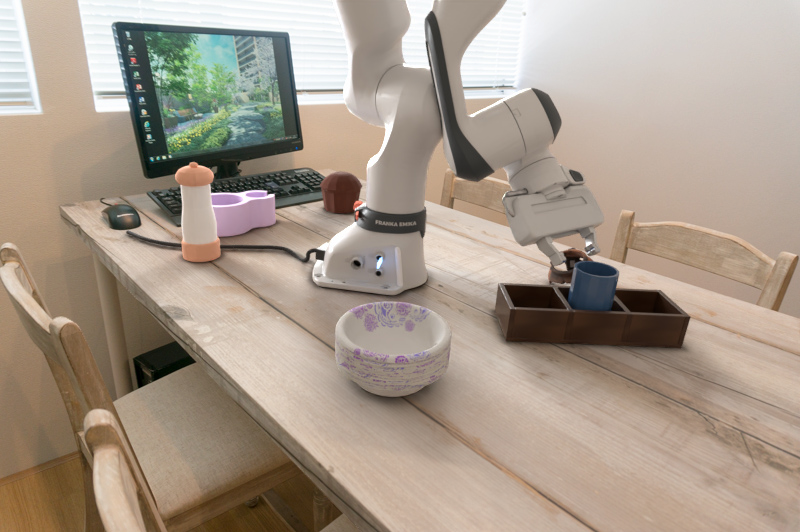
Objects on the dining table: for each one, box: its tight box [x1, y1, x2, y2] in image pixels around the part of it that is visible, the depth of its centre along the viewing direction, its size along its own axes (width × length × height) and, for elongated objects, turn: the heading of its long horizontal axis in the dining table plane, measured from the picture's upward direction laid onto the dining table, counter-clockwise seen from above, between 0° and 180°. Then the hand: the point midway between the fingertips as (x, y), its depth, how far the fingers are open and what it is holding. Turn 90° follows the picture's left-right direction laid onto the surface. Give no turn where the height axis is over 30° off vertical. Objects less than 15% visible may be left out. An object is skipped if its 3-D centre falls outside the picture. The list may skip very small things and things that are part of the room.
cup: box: [567, 260, 620, 311], centre depth 86 cm, size 7×7×10 cm
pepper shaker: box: [174, 161, 221, 263], centre depth 105 cm, size 7×7×19 cm
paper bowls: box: [334, 300, 452, 398], centre depth 71 cm, size 15×15×8 cm
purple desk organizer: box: [211, 189, 277, 238], centre depth 126 cm, size 20×12×7 cm, turn 132°
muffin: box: [319, 170, 363, 215], centre depth 144 cm, size 12×11×10 cm
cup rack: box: [494, 282, 691, 349], centre depth 87 cm, size 28×10×6 cm, turn 91°
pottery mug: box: [547, 247, 594, 285], centre depth 105 cm, size 12×10×8 cm
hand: (578, 259), depth 86 cm, fingers open, 8 cm apart
